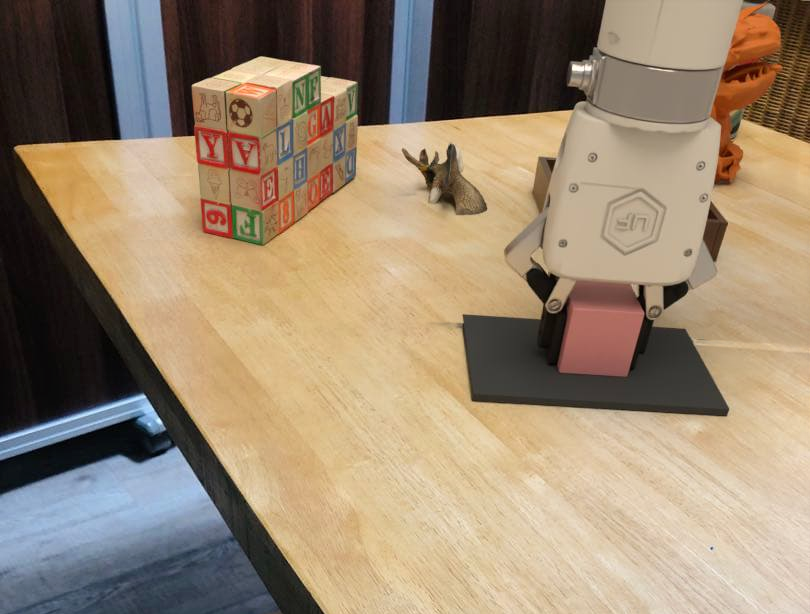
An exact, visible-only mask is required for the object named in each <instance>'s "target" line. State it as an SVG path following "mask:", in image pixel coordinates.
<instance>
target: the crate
mask: <svg viewBox="0 0 810 614" xmlns="http://www.w3.org/2000/svg"><path fill="white" fill-rule="evenodd" d="M556 159H557V157H553V156H552V157H550V156H540V155H539V156H538V157H537V162H536V170H535V174H534V181H533V187H532V196H533V198H534V201H535V204H536V207H537V209H538V213H539V215H540V214H541V213H542V212H543V207H544V203H545V199H546V195H547V191H548V187H549V184H550V180H551V176H552V172H553V169H554V166H555V162H556ZM728 225H729V222H728V221H727V219H726V217H724V215H723V214H722V213H721V212H720V210H719V209H718V208H717V206H716V205H715V204H714V203H713V201H711V202H710V207H709V212H708V217H707V221H706V226H705V230H704V235H703V240H704V242H705V244H706V246H707V248H708V250H709V253H710V255H711V257H712V259H713V261H714V263H716V262H717V260H718V256H719V253H720V250H721V247H722V244H723V241H724V238H725V235H726V231H727V228H728ZM686 254H687V253H686Z"/></svg>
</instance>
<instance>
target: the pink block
mask: <svg viewBox="0 0 810 614" xmlns="http://www.w3.org/2000/svg"><path fill="white" fill-rule="evenodd" d="M637 297H638V296H637V295H636V293H635V291H634V289H633V287H632V284H622V283H608V282H595V281H582V280H577V282H576V283H575V285H574V287H573V289H572V291H571V293H570V295H569V297H568V298H567V300H566V305H565V311H566V314H567V322H566V326H565V331H564V336H563V340H562V345H561V350H560V354H559V359H558V363H557V367H558V370H559V373H571V374H587V375H603V376H619V377H627V375H628V372H629V368H630V364H631V361H632V357H633V354H634V350H635V346H636V343H637V339H638V336H639V332H640V328H641V325H642V321H643V318H644V311H643V309H642V307H641V305H640V303H639V301H638V299H637Z"/></svg>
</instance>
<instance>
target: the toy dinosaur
mask: <svg viewBox="0 0 810 614" xmlns="http://www.w3.org/2000/svg"><path fill="white" fill-rule="evenodd" d="M767 3H768V2H765V3H763V4H761V5H758V6H756V7H755V6H753V7H746V8H744V9H743V10H741V11H740V13H739V17H738V20H737V24H736V27H735V31H734V34H733V38H732V41H731V45H730V48H729V52H728V55H727V59H726V62H725V65H724V68H723V72H722V75H721V79H720V82H719V86H718V90H717V93H716V97H715V100H714V104H713V107H712V111H711V114H710V117H711V118H712V119H714V120H715V121H716V122H718V123H719V124H720V125H721V137H720V147H719V155H718V162H717V169H716V174H715V181H714V184H715V183H718V182H720V181H721V180H729V181H728V182H729V183H730V184H732V183H733V181H734V179H735V178H736V176H737V173H738V172H739V171H740V170H741V165H740V163H741V162H742V160H743V157H744V150H743V149H741V146H739V145H738V144H735V143H734V142H735V140H732V139H730V138H729V137H730V132H731V131H732V123H731V120H730V114H729V113H730V112H732V111H734V110H741V109H743V108H745V109H746V107H749V106H750V105H752V104H754V103H756V101H758V100H759V99H760V98H762V97H764V96H765V95H767V93H768V90H769V89H770V87H771V86H772V85H773V84H774V82H775V80H776V77H777V73H779V72H780V73H781V72H782V71H783V70H784V69H783V65H781V64H777V63H768V62H767V61H763V60H764V59H765V58H767V59H769V58H770V57H771V56H772V55H773V54H777V53H778V52H779V51H780V49H781V46H782V44H781V42H782V32H781V30H780V27H779V26H778V24H777V23H776V22H775V21H774V20H773V19H771V18H770V16H766V15H762V14H756V13H753V12H756V11H758V10H759V9H761V8H762V7H764V6H765V5H766V4H767ZM758 58H759V61H760V62H754V60H755V59H758ZM750 59H752V62H750V63H747V64H743V63H744V62H746V60H750ZM737 64H743V65H737ZM735 65H737V66H735ZM733 66H735V67H734V68H732V69H729V68H731V67H733Z"/></svg>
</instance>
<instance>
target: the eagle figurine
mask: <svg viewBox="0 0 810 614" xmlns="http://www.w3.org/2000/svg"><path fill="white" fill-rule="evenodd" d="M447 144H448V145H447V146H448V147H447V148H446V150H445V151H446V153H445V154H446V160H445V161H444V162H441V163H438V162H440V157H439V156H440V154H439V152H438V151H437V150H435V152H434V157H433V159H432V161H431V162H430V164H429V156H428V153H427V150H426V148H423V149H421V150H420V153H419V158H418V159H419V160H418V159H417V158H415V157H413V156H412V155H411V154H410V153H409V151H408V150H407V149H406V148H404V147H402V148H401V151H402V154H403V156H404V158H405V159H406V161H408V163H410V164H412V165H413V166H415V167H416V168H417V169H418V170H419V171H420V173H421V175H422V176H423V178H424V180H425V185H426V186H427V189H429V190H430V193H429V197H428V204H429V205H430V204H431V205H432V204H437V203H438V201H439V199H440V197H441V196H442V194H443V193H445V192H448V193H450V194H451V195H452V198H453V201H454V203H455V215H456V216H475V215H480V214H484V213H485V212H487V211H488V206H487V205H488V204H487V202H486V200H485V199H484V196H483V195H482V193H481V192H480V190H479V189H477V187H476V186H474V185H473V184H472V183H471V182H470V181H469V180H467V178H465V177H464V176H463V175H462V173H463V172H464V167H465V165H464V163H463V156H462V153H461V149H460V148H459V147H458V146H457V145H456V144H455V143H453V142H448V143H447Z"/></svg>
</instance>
